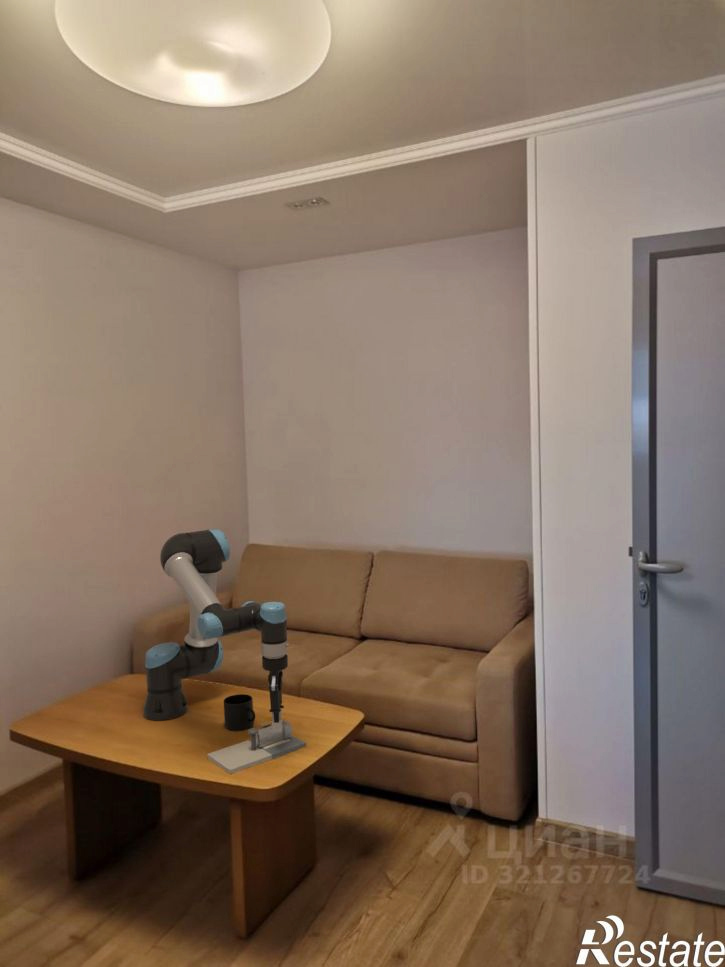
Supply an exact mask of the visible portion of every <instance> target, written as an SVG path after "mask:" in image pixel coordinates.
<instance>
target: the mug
mask: <svg viewBox="0 0 725 967" xmlns="http://www.w3.org/2000/svg"><path fill="white" fill-rule="evenodd" d="M253 699H254V698H253V696H251V695H249V694H243V693H241V694H240V693H238V694H237V693H236V694H233V695H229V696H227V697H225V698H224V699H223V714H224V716H223V717H224V727H225V729H226V730H228V731H230V732H243V731H245V730H247V731H248V730H249V729H252V727H253V726H254V723H255V722H254V721H255V720H256V713H255V711H254V705H253V703H254V702H253Z"/></svg>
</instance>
